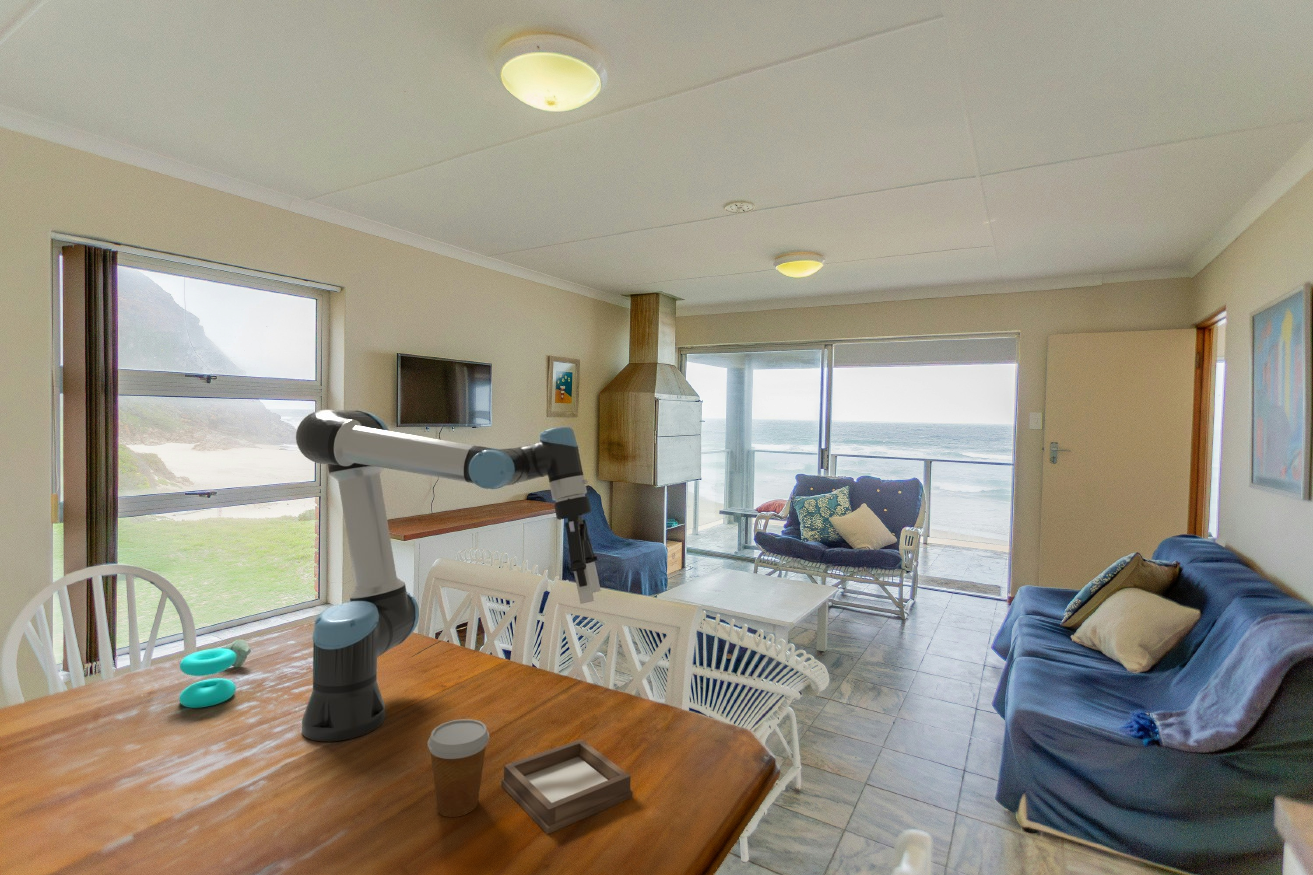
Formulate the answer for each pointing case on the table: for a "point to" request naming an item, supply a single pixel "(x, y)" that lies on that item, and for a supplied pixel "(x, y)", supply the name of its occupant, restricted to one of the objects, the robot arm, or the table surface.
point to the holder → (565, 784)
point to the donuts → (207, 689)
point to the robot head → (239, 651)
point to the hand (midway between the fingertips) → (591, 597)
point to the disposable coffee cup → (458, 764)
